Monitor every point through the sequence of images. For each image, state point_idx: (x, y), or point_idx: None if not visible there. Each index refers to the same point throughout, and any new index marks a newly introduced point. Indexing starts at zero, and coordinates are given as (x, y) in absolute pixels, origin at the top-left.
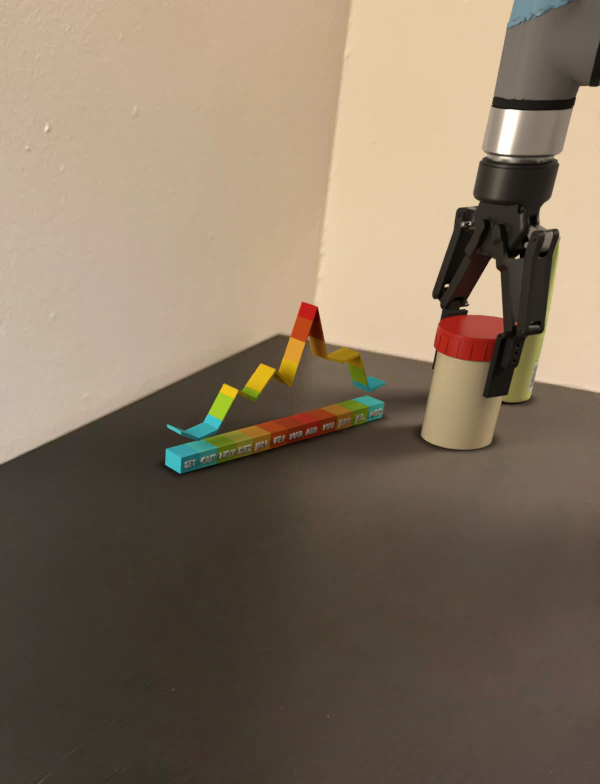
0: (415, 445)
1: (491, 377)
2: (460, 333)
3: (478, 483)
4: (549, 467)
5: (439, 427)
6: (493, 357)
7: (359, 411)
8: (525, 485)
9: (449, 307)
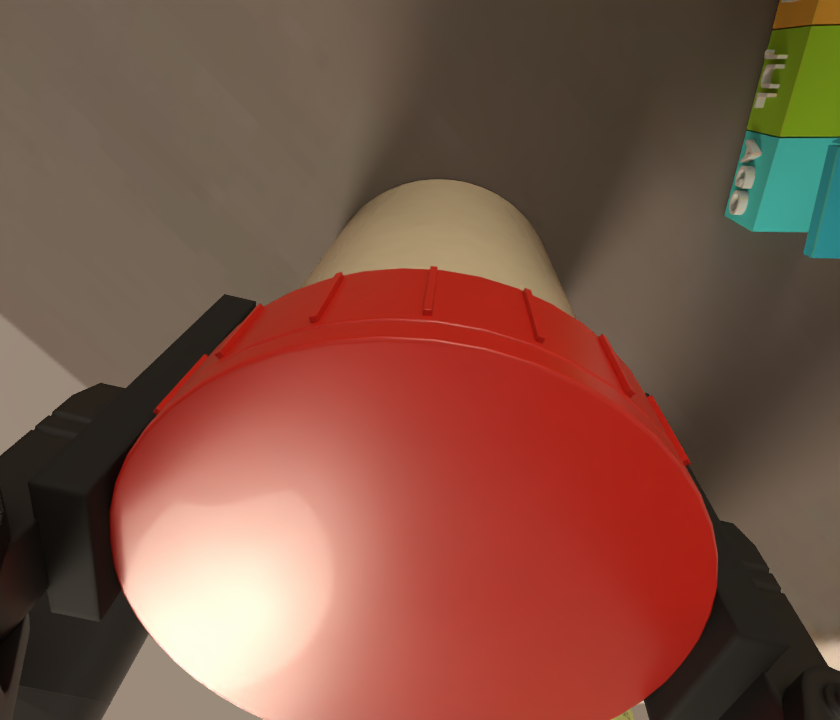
0: (464, 118)
1: (181, 337)
2: (354, 391)
3: (95, 42)
4: (138, 332)
5: (416, 194)
6: (152, 396)
7: (792, 74)
8: (42, 171)
9: (776, 698)
